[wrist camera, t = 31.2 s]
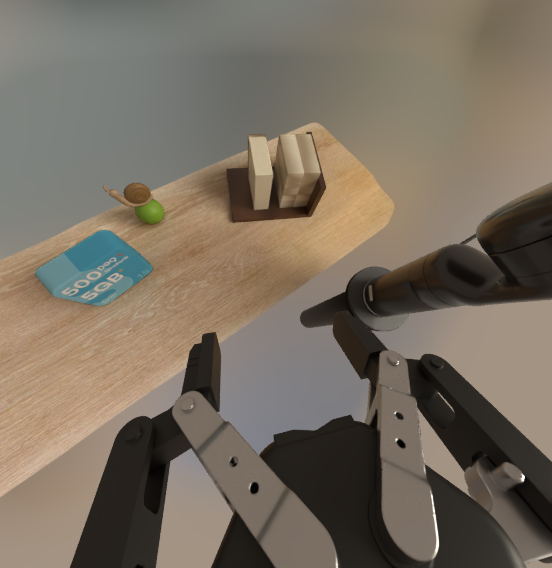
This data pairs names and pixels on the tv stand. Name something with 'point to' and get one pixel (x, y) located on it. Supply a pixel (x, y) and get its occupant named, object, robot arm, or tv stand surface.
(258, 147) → the cream book
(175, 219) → the tv stand surface
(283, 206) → the book rack
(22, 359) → the tv stand surface
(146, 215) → the snail figurine
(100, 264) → the data package
